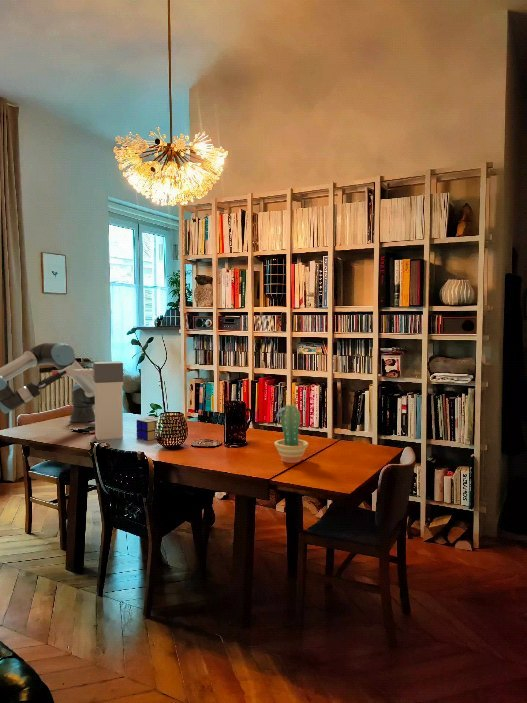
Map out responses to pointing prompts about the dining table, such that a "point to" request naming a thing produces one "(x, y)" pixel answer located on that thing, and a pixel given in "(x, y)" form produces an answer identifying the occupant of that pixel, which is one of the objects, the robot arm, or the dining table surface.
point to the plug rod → (77, 372)
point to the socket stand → (108, 400)
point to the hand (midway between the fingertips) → (71, 367)
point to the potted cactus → (290, 435)
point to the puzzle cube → (146, 428)
